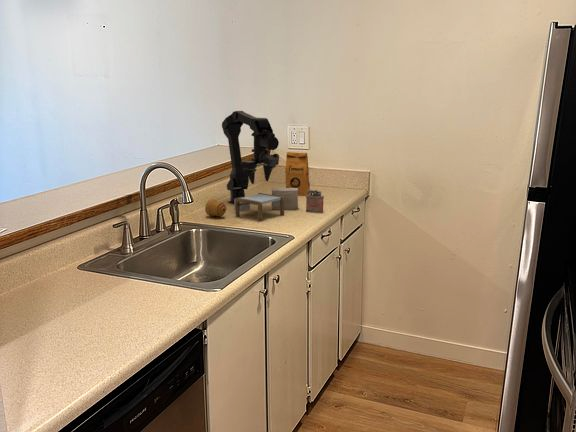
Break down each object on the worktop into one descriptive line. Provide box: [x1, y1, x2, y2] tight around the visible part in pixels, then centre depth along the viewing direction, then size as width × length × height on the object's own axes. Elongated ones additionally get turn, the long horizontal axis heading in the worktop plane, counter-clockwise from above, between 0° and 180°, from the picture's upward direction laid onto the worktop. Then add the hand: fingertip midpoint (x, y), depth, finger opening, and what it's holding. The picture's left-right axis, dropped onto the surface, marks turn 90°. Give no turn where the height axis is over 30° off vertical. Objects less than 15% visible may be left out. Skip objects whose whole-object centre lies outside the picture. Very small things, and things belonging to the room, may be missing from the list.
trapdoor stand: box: [235, 192, 285, 223], centre depth 245 cm, size 15×14×8 cm
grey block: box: [271, 187, 299, 210], centre depth 257 cm, size 12×4×10 cm, turn 89°
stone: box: [233, 197, 251, 212], centre depth 257 cm, size 5×5×5 cm
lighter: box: [305, 189, 325, 214], centre depth 252 cm, size 8×3×10 cm, turn 71°
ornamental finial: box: [204, 198, 227, 218], centre depth 242 cm, size 8×8×8 cm
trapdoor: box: [242, 193, 281, 205], centre depth 244 cm, size 12×12×1 cm
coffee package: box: [284, 151, 311, 197], centre depth 286 cm, size 10×12×22 cm
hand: (259, 182), depth 253 cm, fingers open, 9 cm apart
